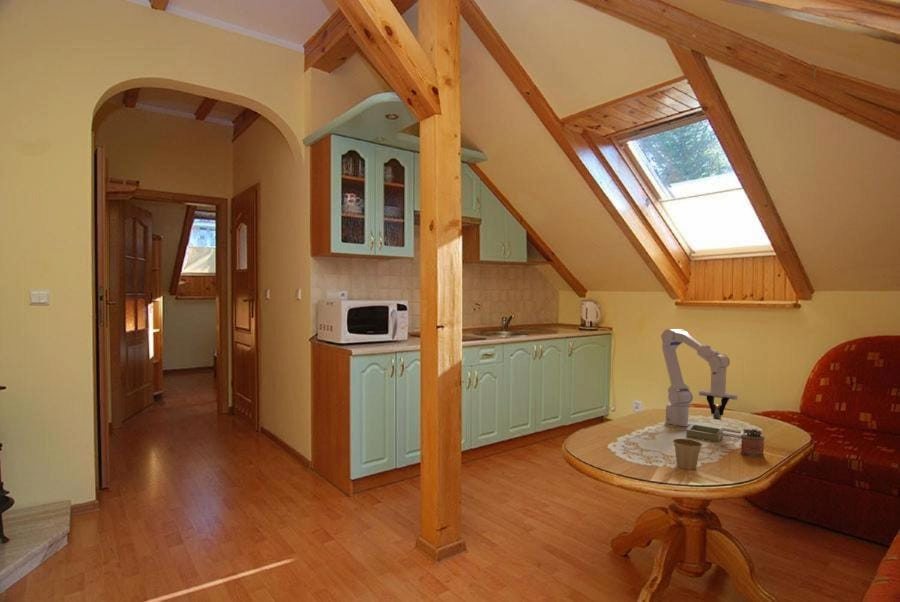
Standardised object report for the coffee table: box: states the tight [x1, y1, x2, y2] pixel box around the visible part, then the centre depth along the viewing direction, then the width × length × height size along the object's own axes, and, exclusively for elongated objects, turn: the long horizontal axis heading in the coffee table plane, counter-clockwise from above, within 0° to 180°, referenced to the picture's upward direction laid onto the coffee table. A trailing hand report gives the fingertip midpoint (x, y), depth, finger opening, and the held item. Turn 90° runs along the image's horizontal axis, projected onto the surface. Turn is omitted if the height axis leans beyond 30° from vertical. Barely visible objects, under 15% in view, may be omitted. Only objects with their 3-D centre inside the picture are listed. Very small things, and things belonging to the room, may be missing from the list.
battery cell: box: [712, 403, 722, 421], centre depth 219 cm, size 3×3×6 cm
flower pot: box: [672, 438, 703, 471], centre depth 178 cm, size 9×9×9 cm
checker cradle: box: [718, 426, 745, 439], centre depth 223 cm, size 10×10×1 cm
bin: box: [686, 423, 724, 443], centre depth 217 cm, size 12×12×3 cm
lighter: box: [740, 428, 766, 458], centre depth 192 cm, size 8×3×10 cm, turn 84°
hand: (717, 414), depth 219 cm, fingers closed on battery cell, 3 cm apart
